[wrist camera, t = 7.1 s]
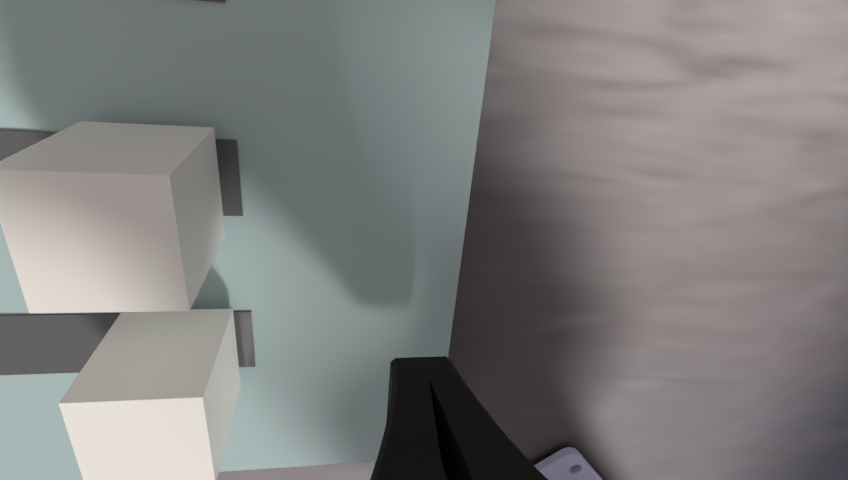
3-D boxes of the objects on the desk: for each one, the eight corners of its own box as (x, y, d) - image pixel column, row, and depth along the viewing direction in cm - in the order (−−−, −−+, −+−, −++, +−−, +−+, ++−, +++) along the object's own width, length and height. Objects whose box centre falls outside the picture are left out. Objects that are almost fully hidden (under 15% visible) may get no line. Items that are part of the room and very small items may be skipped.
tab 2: (232, 308, 12) (202, 397, 9) (240, 386, 13) (215, 484, 11) (122, 310, 12) (58, 403, 9) (140, 390, 13) (87, 494, 10)
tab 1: (214, 127, 10) (168, 175, 7) (225, 236, 11) (189, 311, 9) (80, 121, 10) (-18, 169, 7) (105, 234, 11) (29, 313, 8)
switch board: (487, -121, 11) (516, -143, 9) (425, 411, 18) (434, 458, 16) (-770, -297, 8) (-1119, -388, 6) (-240, 445, 15) (-324, 510, 13)
